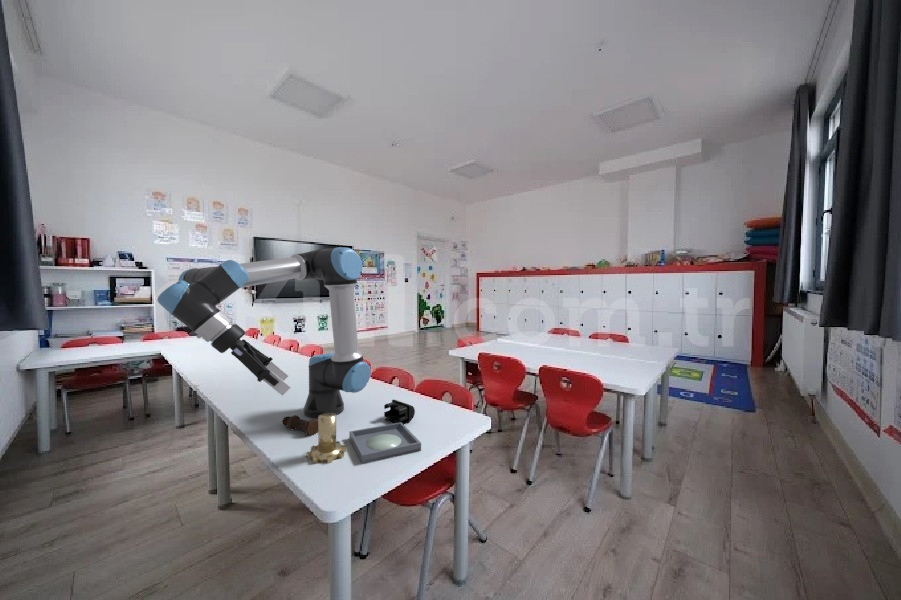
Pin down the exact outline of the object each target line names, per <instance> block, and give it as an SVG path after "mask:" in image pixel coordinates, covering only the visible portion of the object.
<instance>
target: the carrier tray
mask: <svg viewBox="0 0 901 600" xmlns="http://www.w3.org/2000/svg"><path fill="white" fill-rule="evenodd" d="M348 433H349V434H348V435H349V437H348V439H349V441H350V443H351V444H352V447H353V449H354V451H355V453H356V454H357V457H358V458H359V460H360V463H361V465H363V464H368V463H373V462H376V460H377V461H381V459H382V460H386V459H390V457H391V458H394V457H393V456H395V457H398V456H403V454H404V455H407V454H411V453H412V454H413V453H417V452H420V451H422V442H421V441H420V440H419V439H418V438H417V437H416V436H415V435H414V434H413V432H412V431H410V430H409V428H407V426H406V425H403V423H402V422H400V423H394V424H393V423H390V424H389V423H388V424H384V425H377V426H372V427H366V428H361V429H356V430H355V429H354V430H350V431H348ZM385 458H386V459H385ZM372 461H373V462H372Z"/></svg>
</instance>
